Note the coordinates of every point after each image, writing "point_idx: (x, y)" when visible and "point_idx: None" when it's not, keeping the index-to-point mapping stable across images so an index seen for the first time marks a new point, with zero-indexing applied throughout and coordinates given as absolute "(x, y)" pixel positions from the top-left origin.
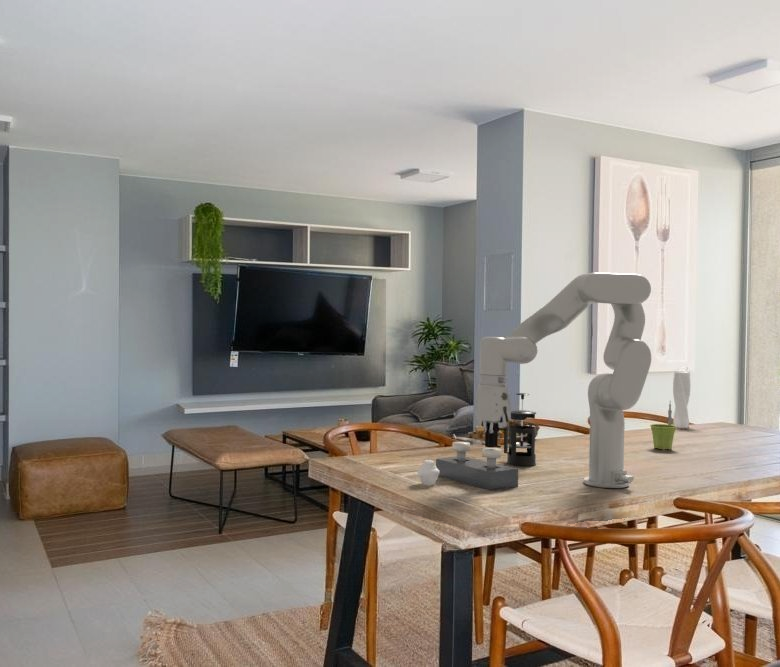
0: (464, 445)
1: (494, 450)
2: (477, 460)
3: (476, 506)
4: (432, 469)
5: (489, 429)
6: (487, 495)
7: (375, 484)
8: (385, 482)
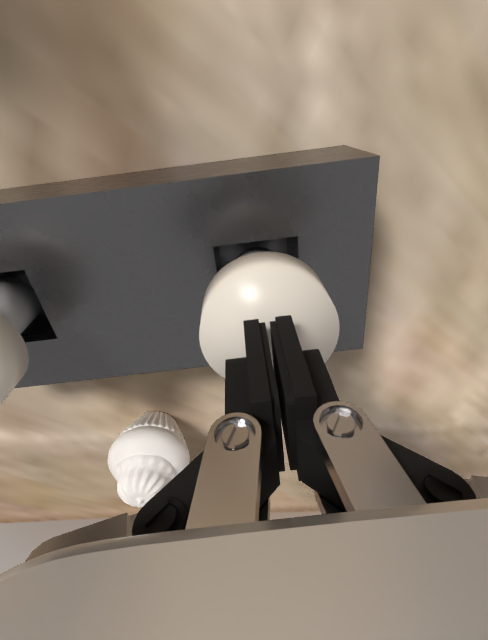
0: (7, 381)
1: (322, 348)
2: (24, 229)
3: (459, 436)
4: (177, 472)
5: (269, 482)
6: (386, 353)
7: (116, 513)
8: (95, 492)
